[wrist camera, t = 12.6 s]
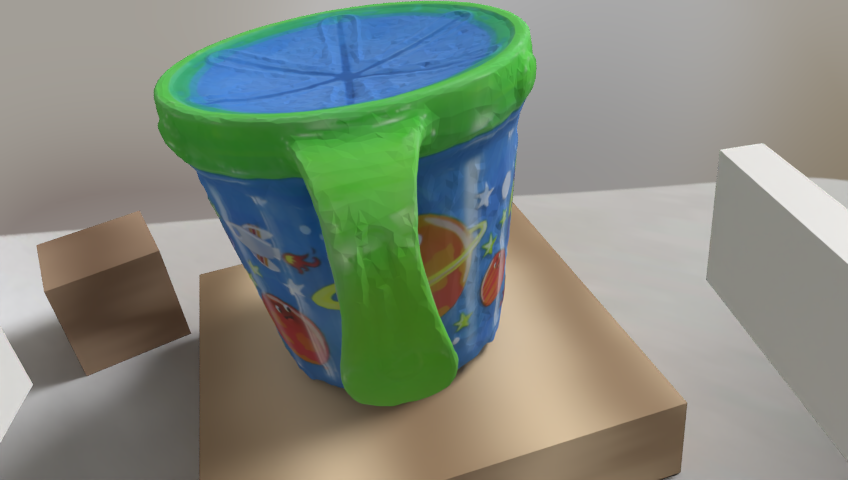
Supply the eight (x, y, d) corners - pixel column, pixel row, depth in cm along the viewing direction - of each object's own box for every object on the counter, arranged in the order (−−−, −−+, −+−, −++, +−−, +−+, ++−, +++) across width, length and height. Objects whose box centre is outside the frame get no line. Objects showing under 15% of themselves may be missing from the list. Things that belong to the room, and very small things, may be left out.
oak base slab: (512, 252, 34) (508, 197, 32) (680, 472, 22) (687, 402, 20) (219, 329, 31) (199, 274, 30) (231, 623, 19) (199, 557, 18)
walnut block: (169, 289, 35) (139, 210, 33) (191, 334, 31) (159, 250, 29) (75, 325, 33) (36, 245, 31) (87, 377, 30) (44, 291, 27)
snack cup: (280, 233, 32) (218, 4, 26) (512, 204, 31) (496, -34, 26) (195, 539, 18) (34, 202, 13) (596, 495, 18) (597, 130, 13)
